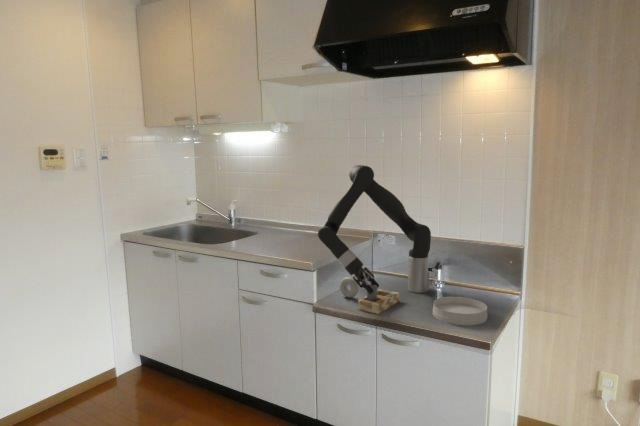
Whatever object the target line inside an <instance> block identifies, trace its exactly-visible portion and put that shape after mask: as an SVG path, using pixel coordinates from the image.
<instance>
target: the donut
mask: <svg viewBox="0 0 640 426" xmlns="http://www.w3.org/2000/svg"><path fill="white" fill-rule="evenodd" d="M348 285H349V286H350V290H349V289H348ZM339 289H340V292H341V294H342V295H343V296H344V297H346V298H349V299H353V298H354V297H356V296H357V295H358V292H359V285H358V284H357V283H356V281H355V280H354V279H353V277H351V276H346V277H344V278H342V279H341V281H340V284H339Z"/></svg>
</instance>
